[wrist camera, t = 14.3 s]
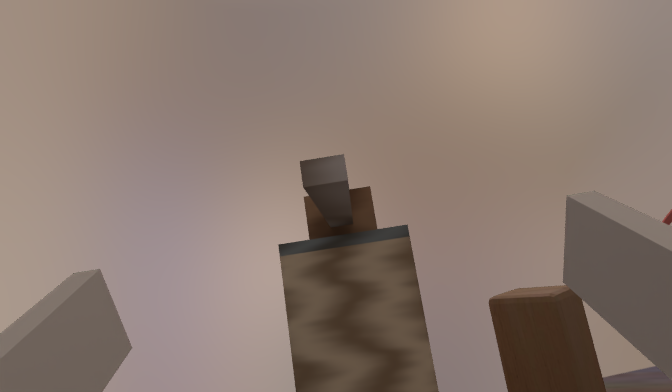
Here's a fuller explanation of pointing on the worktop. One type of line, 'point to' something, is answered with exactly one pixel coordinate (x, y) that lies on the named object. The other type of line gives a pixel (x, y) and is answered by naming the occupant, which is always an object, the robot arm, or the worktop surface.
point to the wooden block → (545, 341)
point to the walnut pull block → (334, 199)
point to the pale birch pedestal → (356, 314)
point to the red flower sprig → (668, 218)
